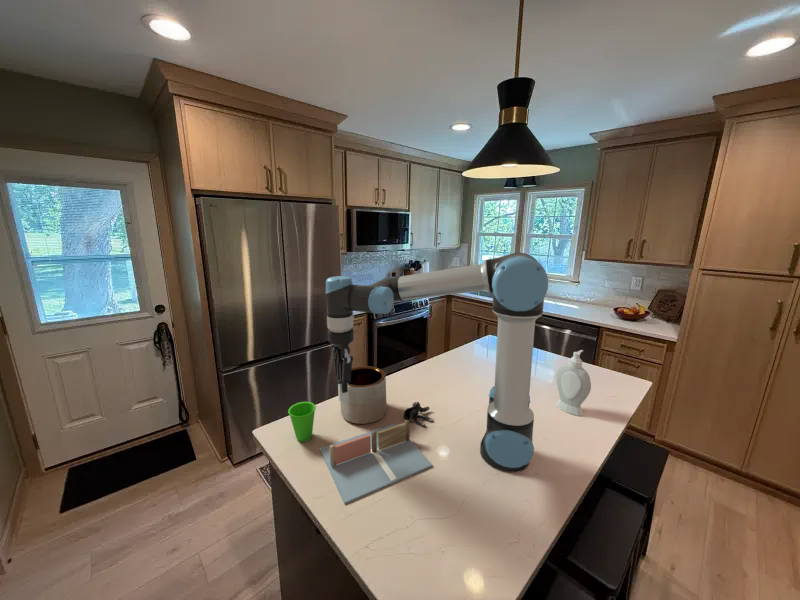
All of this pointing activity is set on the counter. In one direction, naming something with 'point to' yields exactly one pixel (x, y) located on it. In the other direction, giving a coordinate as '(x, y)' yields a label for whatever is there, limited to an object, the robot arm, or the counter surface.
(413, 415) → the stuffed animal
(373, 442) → the fixed fence panel
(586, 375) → the soap bottle
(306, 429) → the cup
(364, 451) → the hinged fence panel
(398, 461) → the card
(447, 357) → the counter surface
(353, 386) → the planter
